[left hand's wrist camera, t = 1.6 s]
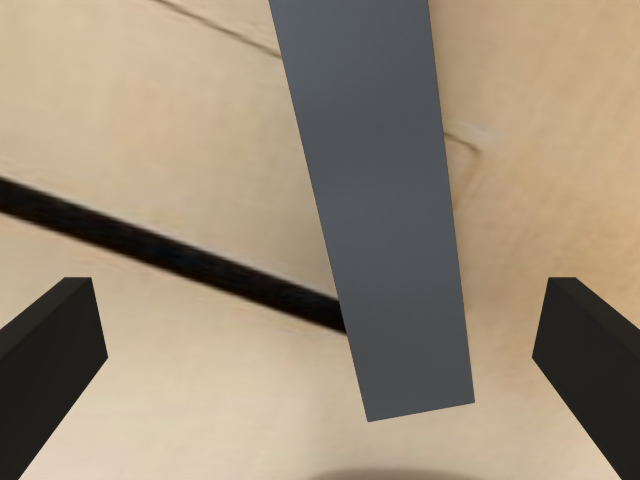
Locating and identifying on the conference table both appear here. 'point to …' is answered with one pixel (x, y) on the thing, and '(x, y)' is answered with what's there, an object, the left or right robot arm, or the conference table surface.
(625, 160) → the conference table surface
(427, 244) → the bar
